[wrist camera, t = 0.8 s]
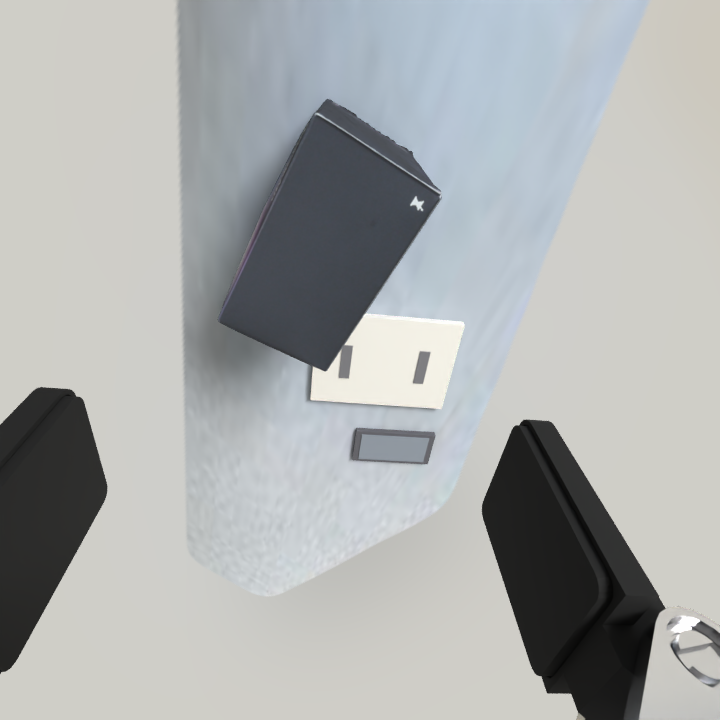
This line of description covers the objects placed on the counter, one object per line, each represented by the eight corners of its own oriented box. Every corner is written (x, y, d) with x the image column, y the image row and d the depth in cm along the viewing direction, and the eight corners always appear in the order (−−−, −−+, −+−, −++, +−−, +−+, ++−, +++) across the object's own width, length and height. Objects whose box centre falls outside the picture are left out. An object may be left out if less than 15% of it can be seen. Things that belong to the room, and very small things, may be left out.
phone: (356, 423, 39) (356, 432, 38) (433, 428, 40) (435, 436, 39) (352, 452, 41) (352, 460, 40) (425, 456, 42) (427, 464, 41)
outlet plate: (317, 309, 32) (316, 313, 32) (462, 321, 33) (465, 326, 33) (310, 395, 36) (310, 400, 36) (440, 404, 38) (441, 409, 37)
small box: (320, 90, 25) (311, 99, 16) (416, 153, 27) (453, 193, 18) (247, 249, 30) (209, 323, 21) (332, 293, 32) (330, 377, 23)
